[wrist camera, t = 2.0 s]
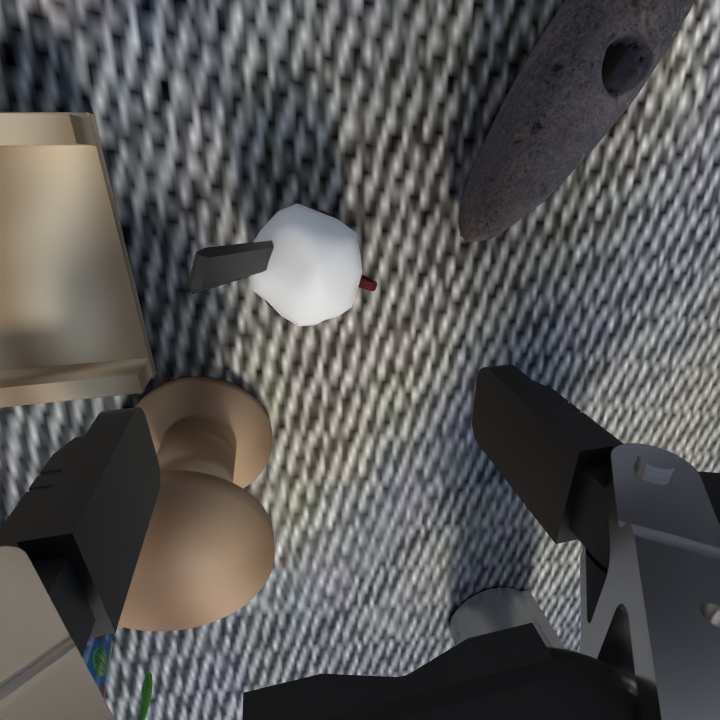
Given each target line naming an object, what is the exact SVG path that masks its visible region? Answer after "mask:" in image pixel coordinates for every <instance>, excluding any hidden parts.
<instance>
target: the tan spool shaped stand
mask: <svg viewBox="0 0 720 720" xmlns="http://www.w3.org/2000/svg"><path fill="white" fill-rule="evenodd" d="M136 407H140V408H142V410H143V411H144V413H145V416H146V419H147V422H148V426H149V429H150V433H151V437H152V440H153V444H154V447H155V451H156V454H157V458H158V462H159V466H160V479H161V480H160V490H159V494H158V497H157V500H156V503H155V506H154V510H153V513H152V516H151V519H150V523H149V526H148V529H147V532H146V536H145V539H144V542H143V545H142V549H141V552H140V555H139V558H138V561H137V565H136V568H135V571H134V574H133V578H132V581H131V584H130V587H129V591H128V594H127V597H126V600H125V603H124V607H123V610H122V613H121V616H120V620H119V623H118V626H121V627H125V628H130V629H135V630H144V631H175V630H183V629H189V628H194V627H198V626H202V625H205V624H208V623H211V622H214V621H217V620H219V619H221V618H224V617H226V616H228V615H230V614H231V613H233V612H235V611H237V610H238V609H240V608H241V607H243V606H244V605H245V604H247V603H248V602H249V601H250V600H251V599H253V598H254V597H255V595H256V594H257V593H258V592H259V591H260V590H261V589H262V587H263V586H264V584H265V583H266V581H267V579H268V577H269V575H270V573H271V570H272V567H273V563H274V531H273V527H272V523H271V520H270V518H269V516H268V514H267V512H266V511H265V509H264V507H263V506H262V505H261V504H260V503H259V501H258V500H257V499H256V498H255V497H253V496H252V495H251V494H250V493H249V492H247V491H246V490H244V489H243V488H245V487H246V486H247V485H249V484H250V483H252V482H253V481H254V480H255V479H256V478H257V477H258V476H259V475H260V473H261V472H262V471H263V469H264V468H265V466H266V464H267V462H268V460H269V457H270V454H271V448H272V429H271V424H270V420H269V418H268V415H267V413H266V411H265V409H264V408H263V406H262V405H261V404H260V402H259V401H258V400H257V399H256V398H255V397H254V396H253V395H252V394H250V393H249V392H248V391H246V390H245V389H243V388H241V387H240V386H238V385H236V384H233V383H231V382H229V381H225V380H222V379H218V378H212V377H202V376H195V377H185V378H179V379H175V380H172V381H169V382H166V383H164V384H161V385H159V386H158V387H156V388H154V389H152V390H151V391H150V392H148V393H147V394H146V395H145V396H144V397H143V398H142V399H141V400H140V401H139V402H138V403H137V405H136V406H135V407H134V408H136Z"/></svg>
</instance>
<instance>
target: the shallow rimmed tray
mask: <svg viewBox="0 0 720 720" xmlns="http://www.w3.org/2000/svg"><path fill="white" fill-rule="evenodd" d="M156 374H157V372H156V368H155V364H154V360H153V356H152V352H151V348H150V344H149V339H148V335H147V331H146V327H145V323H144V319H143V315H142V311H141V307H140V302H139V298H138V294H137V290H136V286H135V282H134V278H133V274H132V270H131V265H130V261H129V257H128V253H127V249H126V245H125V241H124V237H123V233H122V228H121V224H120V220H119V216H118V212H117V208H116V204H115V200H114V196H113V191H112V187H111V183H110V179H109V175H108V171H107V167H106V163H105V159H104V155H103V150H102V146H101V142H100V138H99V134H98V130H97V126H96V122H95V118H94V114H91V113H83V112H0V407H10V406H20V405H29V404H39V403H49V402H59V401H68V400H78V399H88V398H98V397H107V396H117V395H127V394H137V393H143V391H144V390H145V388H146V386H147V384H148V382H149V381H150V379H154V377H155V375H156Z"/></svg>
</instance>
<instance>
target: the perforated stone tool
mask: <svg viewBox="0 0 720 720" xmlns="http://www.w3.org/2000/svg"><path fill="white" fill-rule="evenodd" d="M692 5H693V0H565V1H564V3H563V4H562V6H561V7H560V8H559V10H558V11H557V13H556V15H555V16H554V18H553V19H552V21H551V22H550V23H549V25H548V26H547V28H546V29H545V31H544V32H543V34H542V35H541V37H540V39H539V40H538V42H537V44H536V45H535V47H534V49H533V50H532V52H531V53H530V55H529V57H528V58H527V60H526V62H525V64H524V65H523V67H522V69H521V70H520V72H519V74H518V76H517V77H516V79H515V81H514V83H513V85H512V87H511V88H510V90H509V92H508V94H507V96H506V98H505V100H504V102H503V104H502V106H501V108H500V110H499V112H498V114H497V116H496V118H495V120H494V122H493V124H492V126H491V129H490V131H489V133H488V135H487V137H486V139H485V141H484V143H483V146H482V148H481V150H480V152H479V154H478V156H477V159H476V161H475V163H474V166H473V168H472V171H471V173H470V176H469V179H468V182H467V185H466V188H465V192H464V195H463V199H462V203H461V208H460V215H459V229H460V236H461V237H462V238H464V239H465V241H467V242H474V241H483V240H486V239H490V238H492V237H495V236H497V235H499V234H501V233H502V232H504V231H505V230H506V229H508V228H509V227H510V226H512V225H513V224H515V223H516V222H517V221H518V220H520V219H521V218H523V217H524V216H525V215H526V214H527V213H528V212H530V211H531V210H533V209H534V208H535V207H537V206H538V205H540V204H541V203H542V202H544V201H545V200H546V199H547V198H548V197H549V196H550V195H551V194H552V193H553V192H554V191H555V190H556V189H557V188H558V187H559V186H560V185H561V184H562V183H563V182H564V180H565V179H566V178H567V177H568V176H569V175H570V174H571V172H572V171H573V170H574V169H575V168H576V167H577V166H578V165H579V164H580V163H581V162H582V161H583V160H584V159H585V158H586V156H587V155H588V154H589V153H590V152H591V151H592V149H593V148H594V147H595V146H596V145H597V144H598V143H599V142H600V140H601V139H602V138H603V137H604V136H605V134H606V133H607V132H608V131H609V130H610V128H611V127H612V126H613V125H614V124H615V122H616V121H617V120H618V119H619V117H620V116H621V115H622V114H623V113H624V111H625V110H626V109H627V108H628V107H629V105H630V104H631V103H632V102H633V100H634V99H635V97H636V96H637V95H638V93H639V92H640V90H641V89H642V87H643V86H644V84H645V83H646V81H647V80H648V78H649V77H650V75H651V73H652V72H653V71H654V69H655V68H656V66H657V65H658V63H659V62H660V60H661V59H662V57H663V56H664V54H665V53H666V51H667V50H668V48H669V47H670V45H671V43H672V42H673V40H674V39H675V37H676V35H677V33H678V31H679V28H680V26H681V25H682V22H683V21H684V19H685V18H686V16H687V15H688V13H689V11H690V10H691V8H692Z"/></svg>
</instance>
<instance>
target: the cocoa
mask: <svg viewBox="0 0 720 720" xmlns="http://www.w3.org/2000/svg"><path fill="white" fill-rule="evenodd" d="M245 277H249V279H250V283H251V287H252V290H253V291H254V292H255V293H257V294H258V295H259V296H260V297H262V298H263V299H264V300H265V301H266V303H267V304H268V305H269V306H270V307H272V308H273V309H275V310H276V311H277V312H278V313H279V314H280V315H281V316H282V317H284V318H286V319H287V320H289V321H291V322H293V323H294V324H296V325H298V326H308V325H317V324H318V323H320V322H321V321H323V320H327V319H330V318H334V317H337V316H339V315H341V314H342V313H344V312H345V311H347V310H348V309H350V308H351V307H352V305H353V302H354V299H355V296H356V293H357V290H358V287H360V288H363V289H366V290H370V291H375V289H376V287H377V282H376V281H374V280H372V279H370V278H368V277H366V276H364V275H362V265H361V255H360V249H359V242H358V236H357V233H355V232H354V231H353V230H351V229H350V228H349V227H347V226H346V225H345V224H344V223H342V222H341V221H340V220H338V219H336V218H334V217H332V216H331V215H329V214H328V213H326V212H325V211H322V210H315V209H310V208H308V207H305V206H303V205H301V204H298V203H297V204H294V205H292V206H289V207H287V208H284V209H282V210H279V211H278V212H277V213H276V214H275V215H274V216H273V217H272V218H271V219H270V220H269V221H268V222H267V224H266V225H265V226H264V227H263V228H262V229H261V230H260V231H259V233H258V234H257V235H256V237H255V240H254V242H253V243H245V244H236V245H227V246H218V247H209V248H204V249H201V250H199V251H197V252H196V255H195V259H194V263H193V267H192V271H191V275H190V279H189V283H188V286H189V288H190V290H191V292H192V293H193V294H194V293H197V292H200V291H204V290H207V289H210V288H213V287H217V286H220V285H223V284H226V283H229V282H233V281H236V280H239V279H242V278H245Z"/></svg>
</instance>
